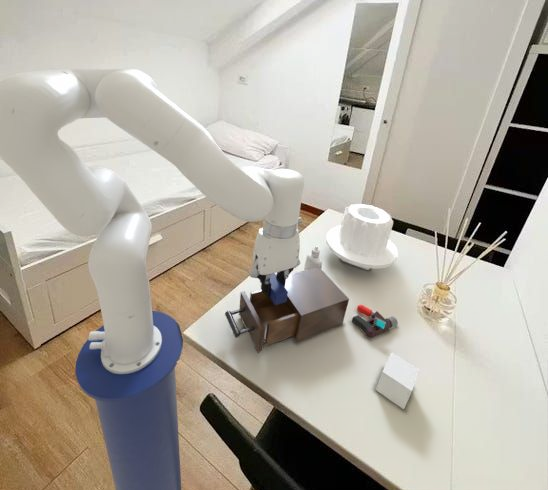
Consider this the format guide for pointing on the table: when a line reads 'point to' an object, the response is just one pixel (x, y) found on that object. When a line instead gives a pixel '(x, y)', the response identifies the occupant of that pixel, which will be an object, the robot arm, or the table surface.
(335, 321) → the cabinet
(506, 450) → the table surface
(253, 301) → the drawer
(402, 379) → the white cube
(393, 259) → the flanged gear
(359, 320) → the toy gun
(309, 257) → the eye dropper bottle
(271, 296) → the blue block
